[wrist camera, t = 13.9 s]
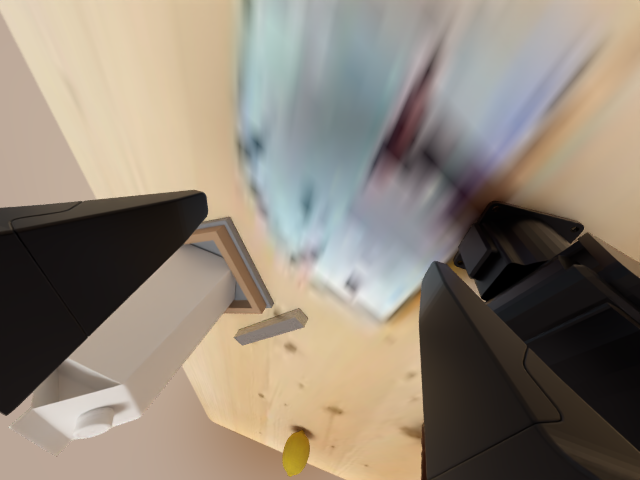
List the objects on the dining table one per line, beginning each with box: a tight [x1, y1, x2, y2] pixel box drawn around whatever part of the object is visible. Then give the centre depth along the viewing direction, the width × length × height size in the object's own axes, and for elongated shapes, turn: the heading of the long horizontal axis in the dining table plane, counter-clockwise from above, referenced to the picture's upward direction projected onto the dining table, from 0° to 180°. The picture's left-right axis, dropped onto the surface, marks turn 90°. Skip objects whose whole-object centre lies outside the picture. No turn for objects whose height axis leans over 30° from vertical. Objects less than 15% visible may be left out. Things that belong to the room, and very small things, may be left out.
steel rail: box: [234, 309, 308, 345], centre depth 35 cm, size 14×2×2 cm, turn 128°
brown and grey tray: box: [181, 217, 274, 314], centre depth 32 cm, size 14×14×2 cm
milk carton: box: [9, 244, 236, 457], centre depth 24 cm, size 7×7×19 cm
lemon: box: [283, 430, 310, 477], centre depth 51 cm, size 6×6×8 cm
